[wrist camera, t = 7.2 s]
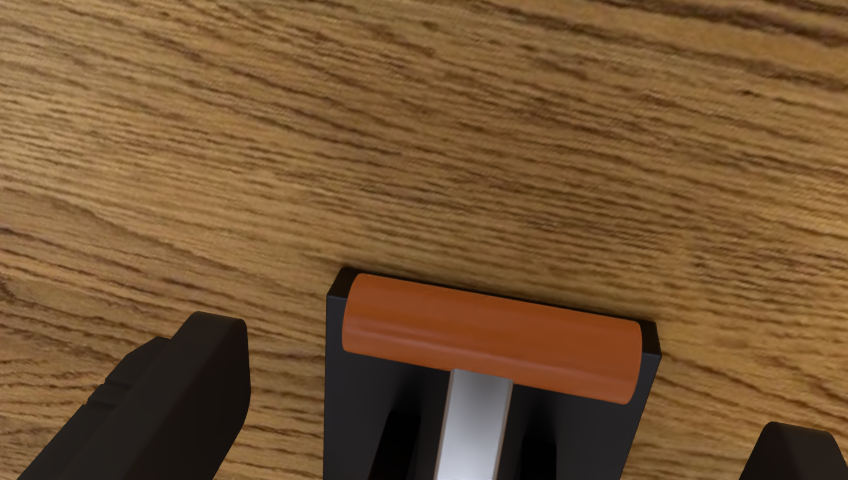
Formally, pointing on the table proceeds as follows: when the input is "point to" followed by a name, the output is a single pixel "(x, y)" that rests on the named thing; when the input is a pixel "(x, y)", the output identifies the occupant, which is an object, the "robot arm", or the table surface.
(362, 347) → the switch
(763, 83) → the table surface
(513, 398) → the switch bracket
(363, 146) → the table surface
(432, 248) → the table surface
